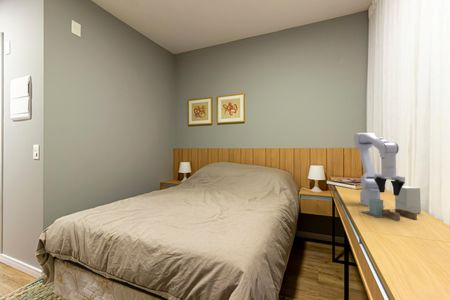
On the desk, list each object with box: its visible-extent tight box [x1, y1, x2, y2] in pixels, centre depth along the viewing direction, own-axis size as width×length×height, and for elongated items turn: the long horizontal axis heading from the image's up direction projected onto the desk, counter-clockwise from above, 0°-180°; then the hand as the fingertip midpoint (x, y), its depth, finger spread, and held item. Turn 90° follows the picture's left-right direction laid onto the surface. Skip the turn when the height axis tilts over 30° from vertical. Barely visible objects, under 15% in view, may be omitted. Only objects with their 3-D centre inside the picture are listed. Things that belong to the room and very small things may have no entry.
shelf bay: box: [383, 208, 418, 222], centre depth 96 cm, size 8×10×3 cm
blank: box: [368, 198, 384, 215], centre depth 101 cm, size 4×4×7 cm
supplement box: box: [394, 185, 422, 214], centre depth 107 cm, size 7×7×13 cm
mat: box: [360, 210, 388, 219], centre depth 101 cm, size 9×9×1 cm
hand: (388, 193), depth 103 cm, fingers open, 7 cm apart
